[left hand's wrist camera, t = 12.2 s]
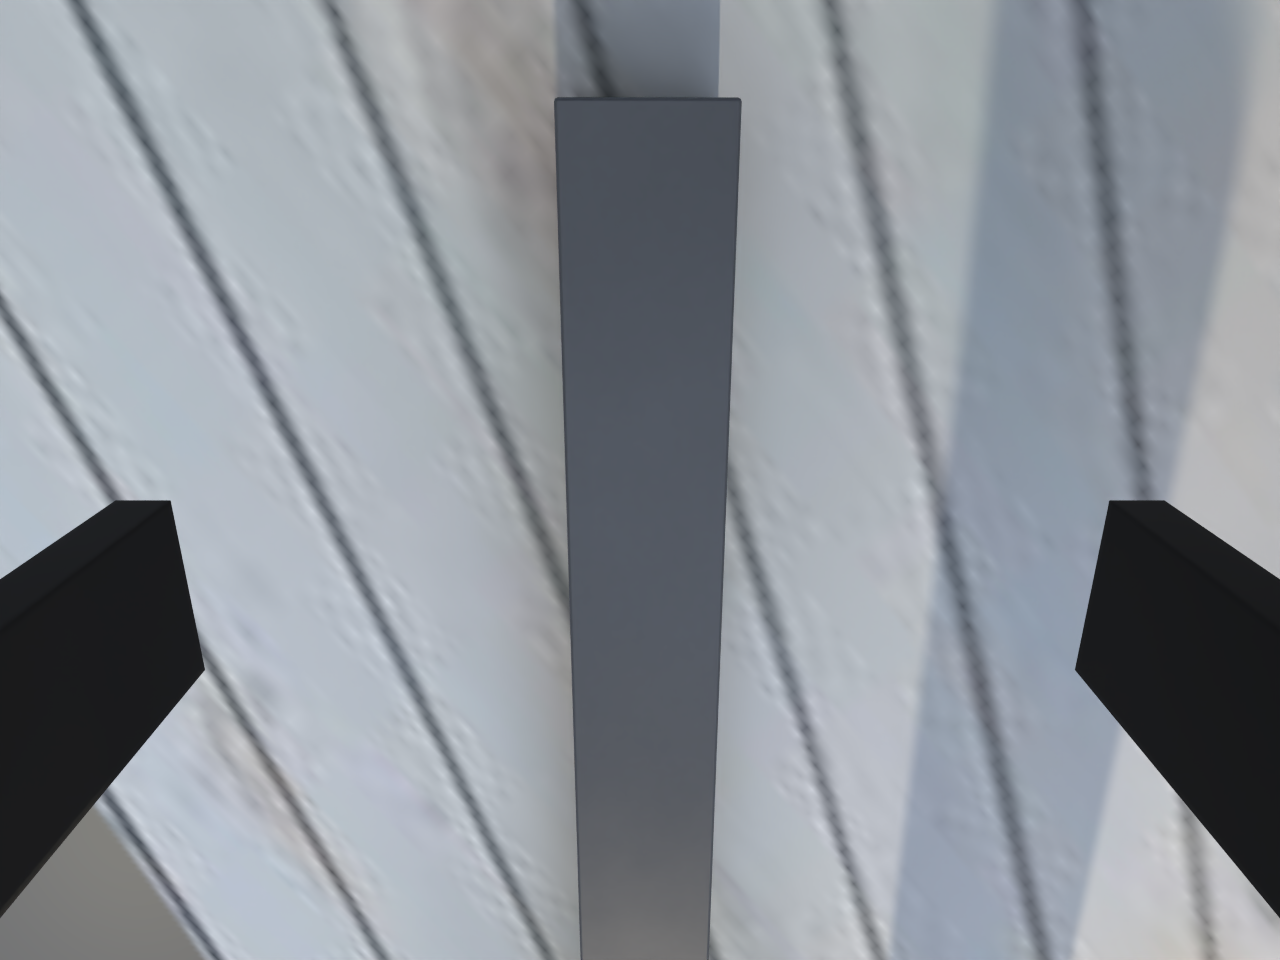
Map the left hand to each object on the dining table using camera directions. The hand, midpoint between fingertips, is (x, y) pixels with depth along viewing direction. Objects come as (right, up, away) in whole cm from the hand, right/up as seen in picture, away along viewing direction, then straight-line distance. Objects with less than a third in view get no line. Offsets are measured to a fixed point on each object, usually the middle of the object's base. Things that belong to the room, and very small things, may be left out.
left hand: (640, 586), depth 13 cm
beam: (0, -15, +29) cm, 33 cm away
